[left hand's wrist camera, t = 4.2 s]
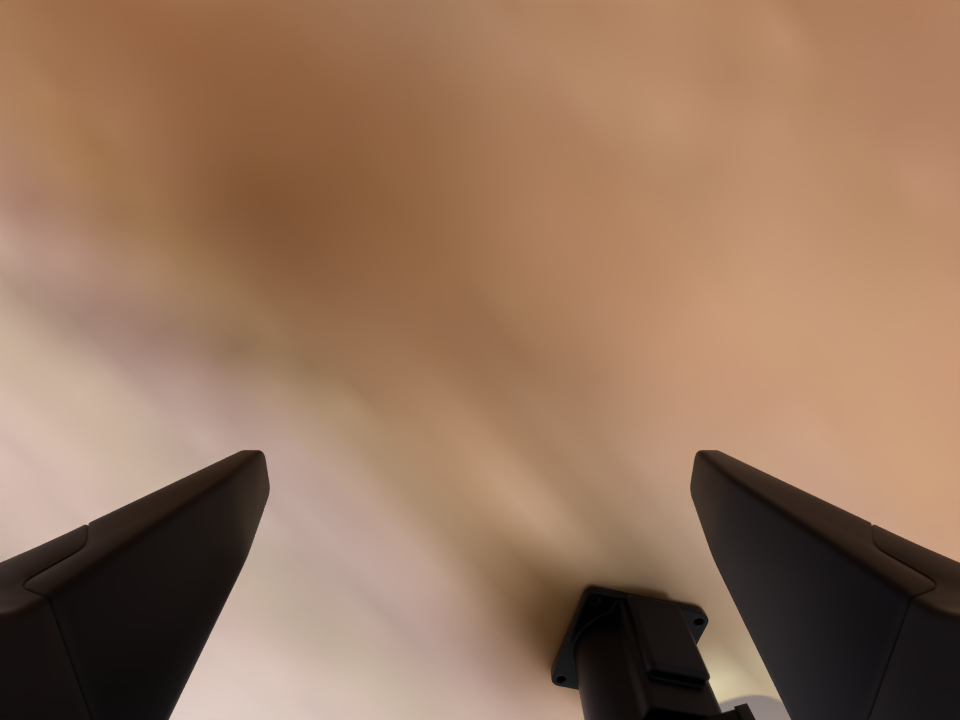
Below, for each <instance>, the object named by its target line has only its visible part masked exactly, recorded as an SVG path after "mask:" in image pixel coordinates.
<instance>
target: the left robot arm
mask: <svg viewBox="0 0 960 720" xmlns="http://www.w3.org/2000/svg"><path fill="white" fill-rule="evenodd" d="M269 490H270V485H269V478H268V472H267V465H266V459H265V455H264V453H263V452H262V451H259V450H243V451H240V452H238V453H236V454H233V455H231V456H229V457H227V458H225V459H223V460H221V461H219V462H217V463H214V464H212V465H210V466H208V467H206V468H204V469H202V470H200V471H198V472H195V473H193V474H191V475H189V476H187V477H185V478H183V479H181V480H179V481H176V482H174V483H172V484H170V485H168V486H166V487H164V488H162V489H160V490H157V491H155V492H153V493H151V494H149V495H147V496H145V497H143V498H141V499H138V500H136V501H134V502H132V503H130V504H128V505H126V506H124V507H122V508H119V509H117V510H115V511H113V512H111V513H109V514H107V515H105V516H103V517H100V518H98V519H96V520H94V521H92V522H90V523H89V525H83V526H81V527H79V528H77V529H75V530H73V531H71V532H69V533H66V534H64V535H62V536H60V537H58V538H56V539H53V540H51V541H49V542H47V543H45V544H42V545H40V546H38V547H36V548H33V549H31V550H29V551H26V552H24V553H22V554H19V555H17V556H15V557H12V558H10V559H8V560H6V561H3V562H1V563H0V720H169V718H170V716H171V714H172V712H173V710H174V708H175V706H176V704H177V701H178V699H179V697H180V695H181V693H182V691H183V689H184V687H185V685H186V683H187V681H188V679H189V677H190V675H191V673H192V671H193V668H194V666H195V664H196V662H197V660H198V658H199V656H200V654H201V652H202V650H203V648H204V646H205V644H206V642H207V640H208V638H209V636H210V633H211V631H212V629H213V627H214V625H215V623H216V621H217V619H218V617H219V615H220V613H221V611H222V609H223V607H224V605H225V603H226V600H227V598H228V596H229V594H230V592H231V590H232V588H233V586H234V584H235V582H236V580H237V578H238V576H239V574H240V572H241V570H242V567H243V565H244V563H245V561H246V559H247V556H248V553H249V551H250V548H251V545H252V543H253V540H254V537H255V534H256V531H257V528H258V525H259V522H260V519H261V517H262V514H263V511H264V508H265V505H266V502H267V499H268V496H269ZM690 490H691V496H692V499H693V502H694V505H695V508H696V511H697V514H698V517H699V519H700V522H701V525H702V528H703V531H704V534H705V537H706V540H707V543H708V545H709V548H710V551H711V554H712V556H713V559H714V561H715V563H716V565H717V567H718V570H719V572H720V574H721V576H722V578H723V580H724V582H725V584H726V586H727V588H728V590H729V592H730V594H731V596H732V598H733V600H734V603H735V605H736V607H737V609H738V611H739V613H740V615H741V617H742V619H743V621H744V623H745V625H746V627H747V629H748V631H749V633H750V636H751V638H752V640H753V642H754V644H755V646H756V648H757V650H758V652H759V654H760V656H761V658H762V660H763V662H764V664H765V666H766V668H767V671H768V673H769V675H770V677H771V679H772V681H773V683H774V685H775V687H776V689H777V691H778V693H779V695H780V697H781V699H782V701H783V704H784V706H785V708H786V710H787V712H788V714H789V716H790V718H791V720H960V563H959V562H957V561H954V560H952V559H950V558H947V557H945V556H943V555H941V554H938V553H936V552H934V551H931V550H929V549H927V548H924V547H922V546H920V545H918V544H915V543H913V542H911V541H909V540H907V539H904V538H902V537H900V536H898V535H896V534H894V533H891V532H889V531H887V530H885V529H883V528H881V527H879V526H877V525H871V523H870V522H868V521H866V520H864V519H862V518H860V517H857V516H855V515H853V514H851V513H849V512H847V511H845V510H843V509H841V508H838V507H836V506H834V505H832V504H830V503H828V502H826V501H824V500H822V499H819V498H817V497H815V496H813V495H811V494H809V493H807V492H805V491H803V490H800V489H798V488H796V487H794V486H792V485H790V484H788V483H786V482H784V481H781V480H779V479H777V478H775V477H773V476H771V475H769V474H767V473H765V472H762V471H760V470H758V469H756V468H754V467H752V466H750V465H748V464H746V463H743V462H741V461H739V460H737V459H735V458H733V457H731V456H729V455H727V454H724V453H722V452H720V451H717V450H700V451H698V452H697V453H696V455H695V459H694V465H693V472H692V478H691V485H690ZM591 597H596V598H591ZM696 618H698V619H696ZM707 624H708V618H707V616H706V614H705V612H704V611H703V609H700V608H696V607H691V606H687V605H682V604H677V603H672V602H667V601H662V600H658V599H653V598H648V597H643V596H638V595H633V594H629V593H624V592H619V591H614V590H609V589H604V588H600V587H589V588H587V589H586V590H585V591H584V592H583V595H582V597H581V600H580V602H579V605H578V607H577V609H576V612H575V614H574V617H573V619H572V622H571V624H570V626H569V629H568V631H567V634H566V636H565V639H564V641H563V643H562V646H561V648H560V651H559V653H558V655H557V658H556V660H555V663H554V665H553V668H552V670H551V678H552V682H553V683H554V684H555V685H558V686H562V687H567V688H573V689H578V690H579V692H580V697H581V703H582V708H583V714H584V719H585V720H755V718H754V716H753V714H752V712H751V710H750V708H749V706H748V705H747V703H746V704H742V705H739V706H735V707H734V708H735V709H734V710H730V711H727V712H723V713H722V711H721V709H720V707H719V704H718V702H717V700H716V697H715V695H714V693H713V690H712V688H711V686H710V684H709V679H710V675H709V673H708V670H707V668H706V666H705V663H704V661H703V659H702V657H701V654H700V652H699V650H698V647H697V643H698V641H699V639H700V637H701V635H702V633H703V631H704V629H705V628H706V626H707Z"/></svg>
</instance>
